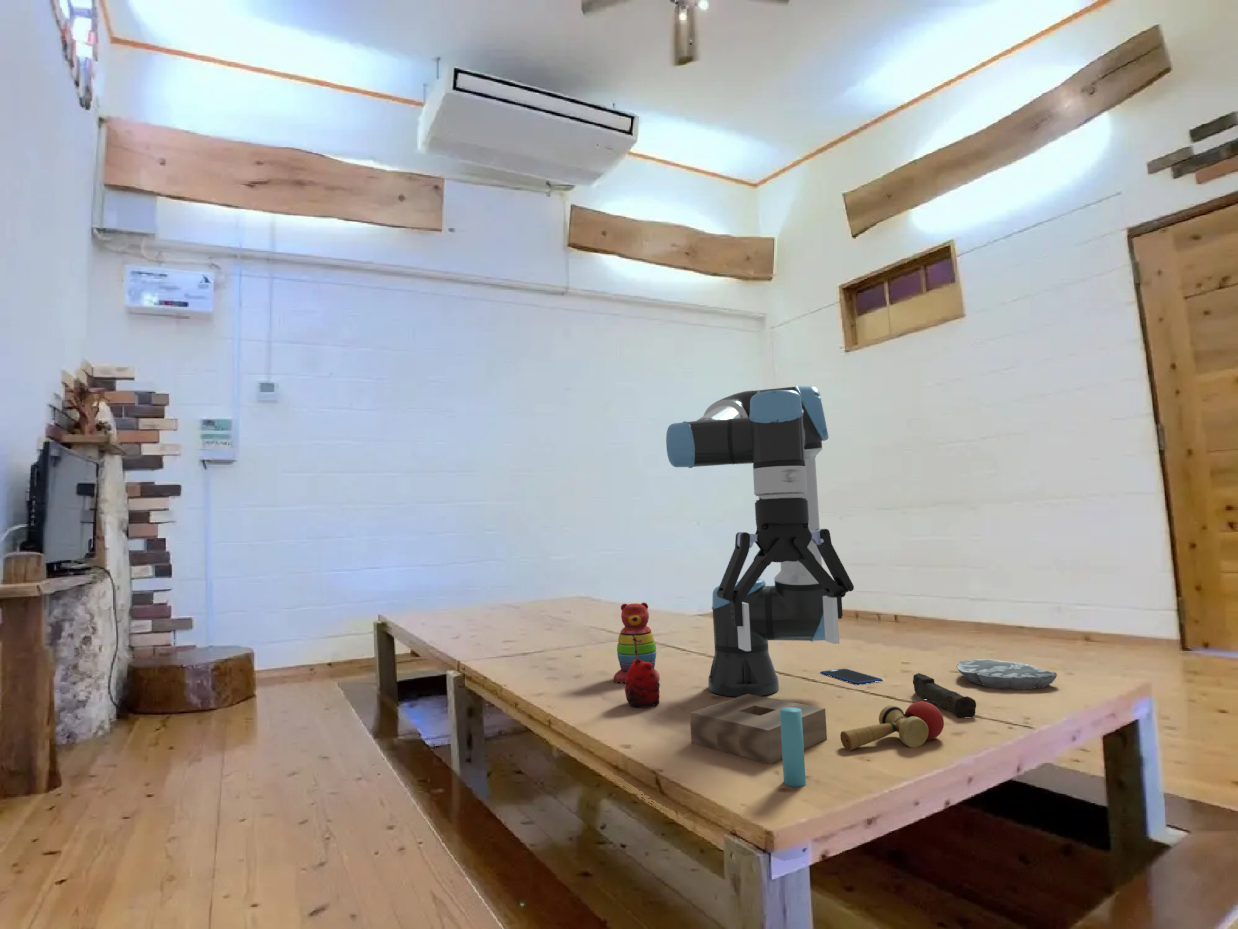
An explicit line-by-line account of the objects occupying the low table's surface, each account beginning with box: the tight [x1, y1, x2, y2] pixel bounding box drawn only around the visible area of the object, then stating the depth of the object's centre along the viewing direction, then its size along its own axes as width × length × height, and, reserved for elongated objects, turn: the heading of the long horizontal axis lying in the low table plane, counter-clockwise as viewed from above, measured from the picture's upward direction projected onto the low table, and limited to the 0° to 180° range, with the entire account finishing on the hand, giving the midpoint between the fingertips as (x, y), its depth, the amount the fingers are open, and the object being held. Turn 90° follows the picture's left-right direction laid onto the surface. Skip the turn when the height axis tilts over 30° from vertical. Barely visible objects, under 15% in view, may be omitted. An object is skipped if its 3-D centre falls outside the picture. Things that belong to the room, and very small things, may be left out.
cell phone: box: [819, 668, 883, 686], centre depth 163 cm, size 7×14×1 cm, turn 19°
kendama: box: [840, 700, 945, 752], centre depth 116 cm, size 8×6×18 cm
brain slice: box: [956, 658, 1058, 690], centre depth 153 cm, size 20×17×3 cm
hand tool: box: [912, 672, 977, 719], centre depth 137 cm, size 19×4×5 cm, turn 2°
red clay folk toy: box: [624, 633, 661, 708], centre depth 146 cm, size 8×7×15 cm
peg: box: [780, 707, 807, 788], centre depth 101 cm, size 3×3×10 cm
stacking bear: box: [612, 602, 661, 683], centre depth 170 cm, size 11×10×18 cm
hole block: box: [689, 694, 828, 765], centre depth 119 cm, size 16×16×5 cm
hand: (789, 646), depth 102 cm, fingers open, 13 cm apart
